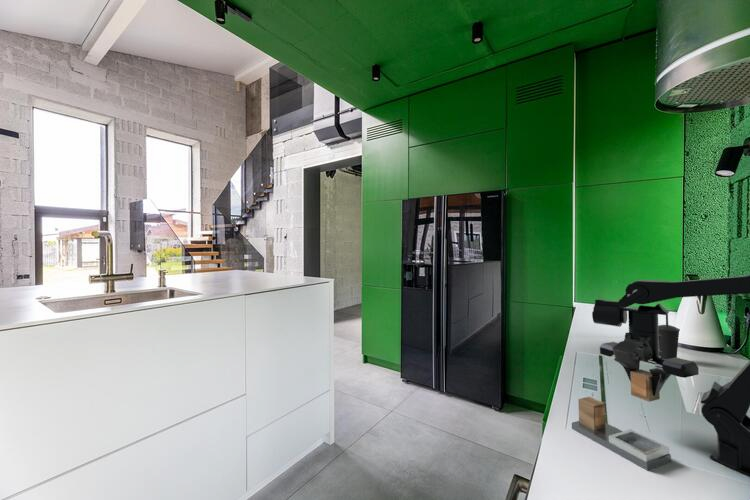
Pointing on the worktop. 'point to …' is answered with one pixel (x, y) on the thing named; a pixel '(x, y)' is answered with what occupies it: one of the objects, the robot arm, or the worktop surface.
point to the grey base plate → (628, 445)
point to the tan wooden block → (642, 385)
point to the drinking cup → (668, 340)
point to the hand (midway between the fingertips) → (644, 391)
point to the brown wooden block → (592, 413)
